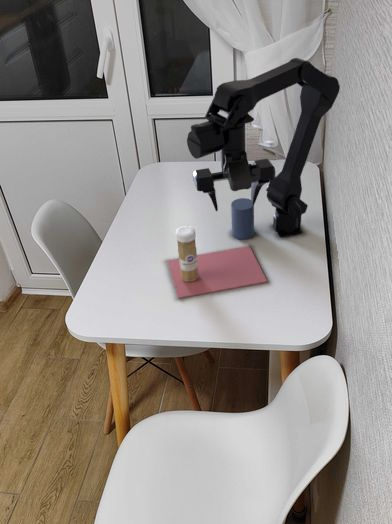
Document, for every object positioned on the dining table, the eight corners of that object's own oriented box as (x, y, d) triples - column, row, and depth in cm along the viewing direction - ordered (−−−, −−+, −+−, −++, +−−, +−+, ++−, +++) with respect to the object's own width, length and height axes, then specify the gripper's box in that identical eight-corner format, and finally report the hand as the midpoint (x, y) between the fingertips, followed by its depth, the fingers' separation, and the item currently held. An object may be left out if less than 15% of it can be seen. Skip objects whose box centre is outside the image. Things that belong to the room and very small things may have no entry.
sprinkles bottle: (187, 285, 131) (181, 237, 122) (177, 276, 134) (171, 229, 125) (202, 278, 133) (198, 231, 123) (192, 269, 135) (188, 222, 126)
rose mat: (249, 247, 141) (249, 245, 141) (267, 282, 130) (267, 281, 130) (168, 261, 139) (167, 260, 139) (178, 298, 128) (178, 297, 128)
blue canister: (250, 226, 149) (250, 196, 143) (256, 237, 145) (256, 207, 138) (229, 229, 148) (228, 200, 142) (235, 241, 144) (234, 211, 138)
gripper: (199, 166, 114) (204, 230, 125) (283, 153, 116) (281, 217, 126) (189, 145, 122) (195, 207, 133) (268, 133, 123) (267, 195, 134)
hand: (234, 207), depth 131 cm, fingers open, 9 cm apart
